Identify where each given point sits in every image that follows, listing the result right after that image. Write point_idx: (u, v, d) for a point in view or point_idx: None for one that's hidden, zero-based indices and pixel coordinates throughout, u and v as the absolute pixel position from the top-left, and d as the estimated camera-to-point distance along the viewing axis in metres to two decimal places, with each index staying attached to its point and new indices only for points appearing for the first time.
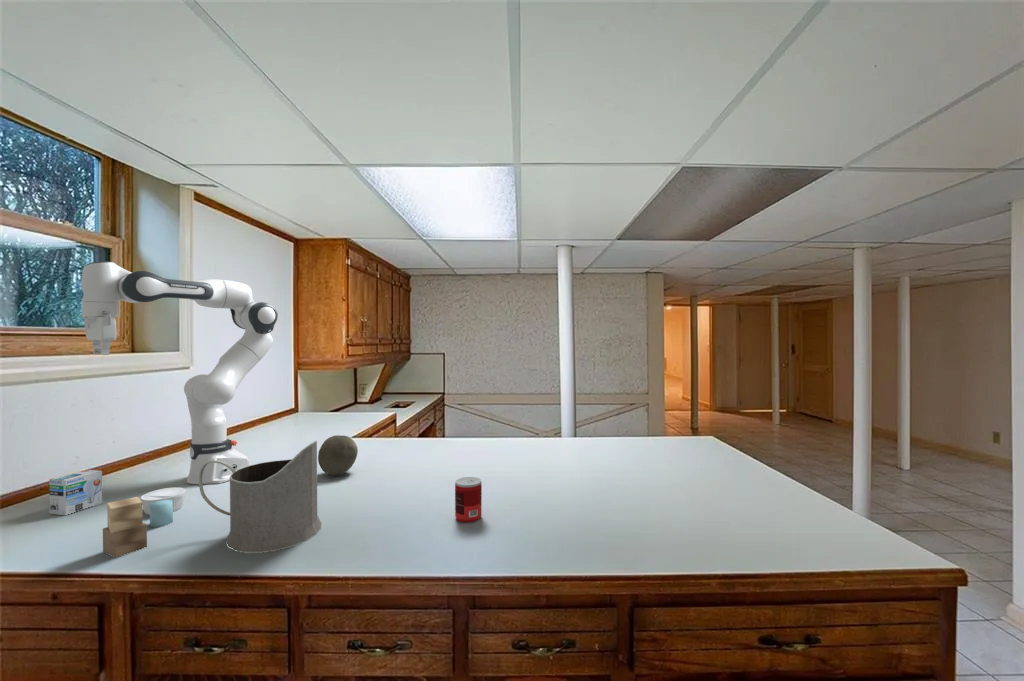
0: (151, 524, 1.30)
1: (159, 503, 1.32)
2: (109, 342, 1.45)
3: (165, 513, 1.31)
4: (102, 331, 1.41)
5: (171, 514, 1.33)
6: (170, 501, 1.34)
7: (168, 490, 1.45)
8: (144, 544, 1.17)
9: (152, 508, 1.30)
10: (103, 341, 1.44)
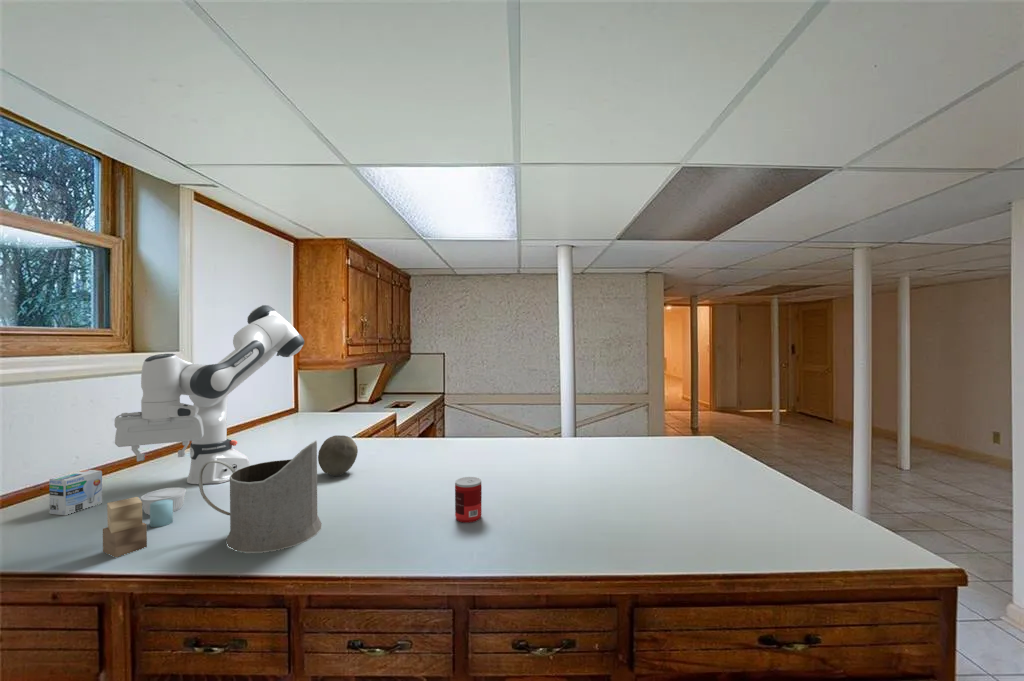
0: (151, 524, 1.30)
1: (160, 503, 1.32)
2: None
3: (165, 513, 1.31)
4: None
5: (171, 514, 1.33)
6: (170, 501, 1.34)
7: (168, 490, 1.45)
8: (144, 544, 1.17)
9: (153, 508, 1.30)
10: None
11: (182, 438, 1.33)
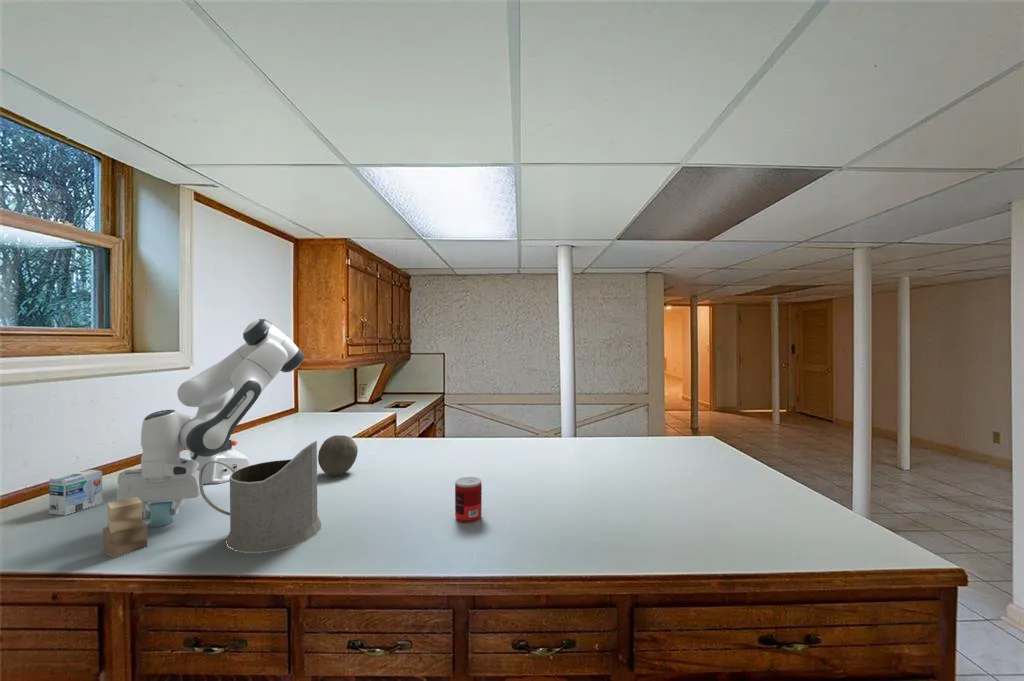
0: (151, 524, 1.30)
1: (159, 503, 1.32)
2: None
3: (165, 513, 1.31)
4: None
5: None
6: (170, 501, 1.34)
7: None
8: (144, 544, 1.17)
9: (153, 508, 1.30)
10: None
11: (179, 496, 1.32)
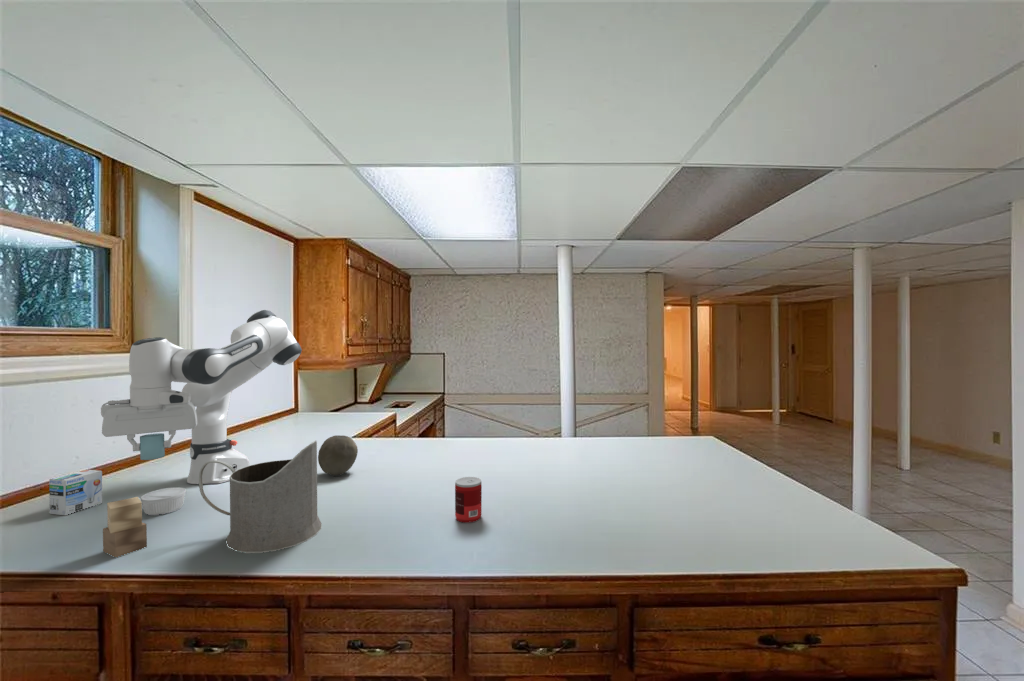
0: (144, 457, 1.22)
1: (150, 435, 1.24)
2: (127, 437, 1.21)
3: (159, 445, 1.24)
4: None
5: None
6: (161, 433, 1.26)
7: (168, 490, 1.45)
8: (144, 544, 1.17)
9: (145, 440, 1.22)
10: None
11: (175, 427, 1.25)
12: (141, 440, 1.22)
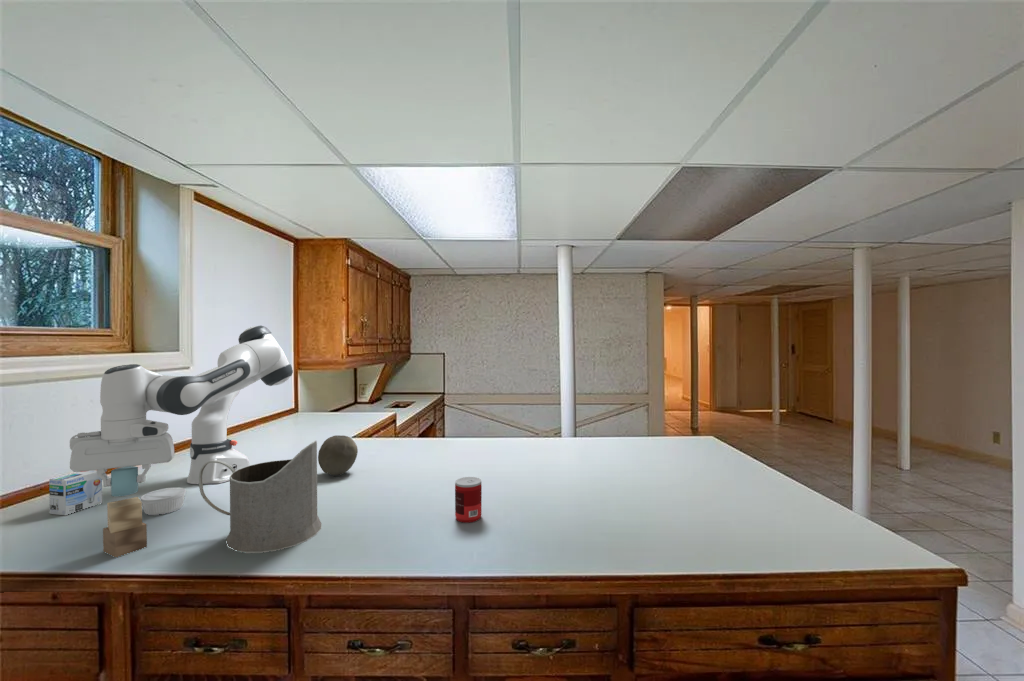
0: (114, 493, 1.14)
1: (123, 469, 1.16)
2: None
3: (131, 480, 1.15)
4: None
5: None
6: (135, 467, 1.18)
7: (168, 490, 1.45)
8: (144, 544, 1.17)
9: (116, 475, 1.14)
10: None
11: (148, 460, 1.17)
12: (112, 475, 1.14)
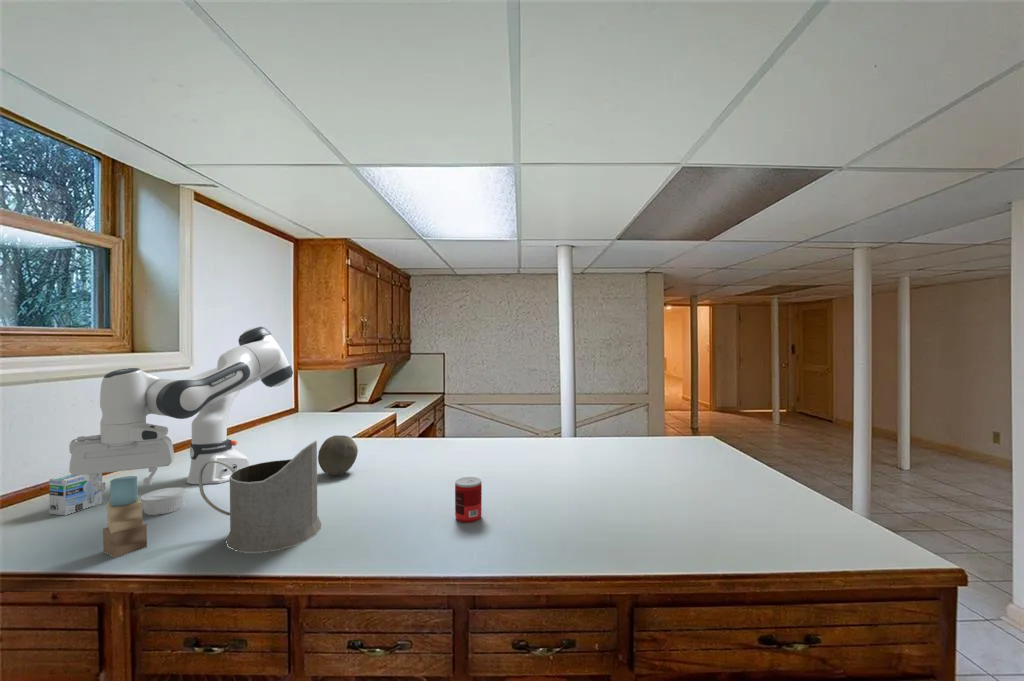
0: (113, 503, 1.14)
1: (122, 479, 1.16)
2: None
3: (131, 490, 1.15)
4: None
5: (136, 491, 1.17)
6: (134, 477, 1.18)
7: (168, 490, 1.45)
8: (144, 544, 1.17)
9: (115, 485, 1.14)
10: None
11: (148, 464, 1.17)
12: (111, 485, 1.14)
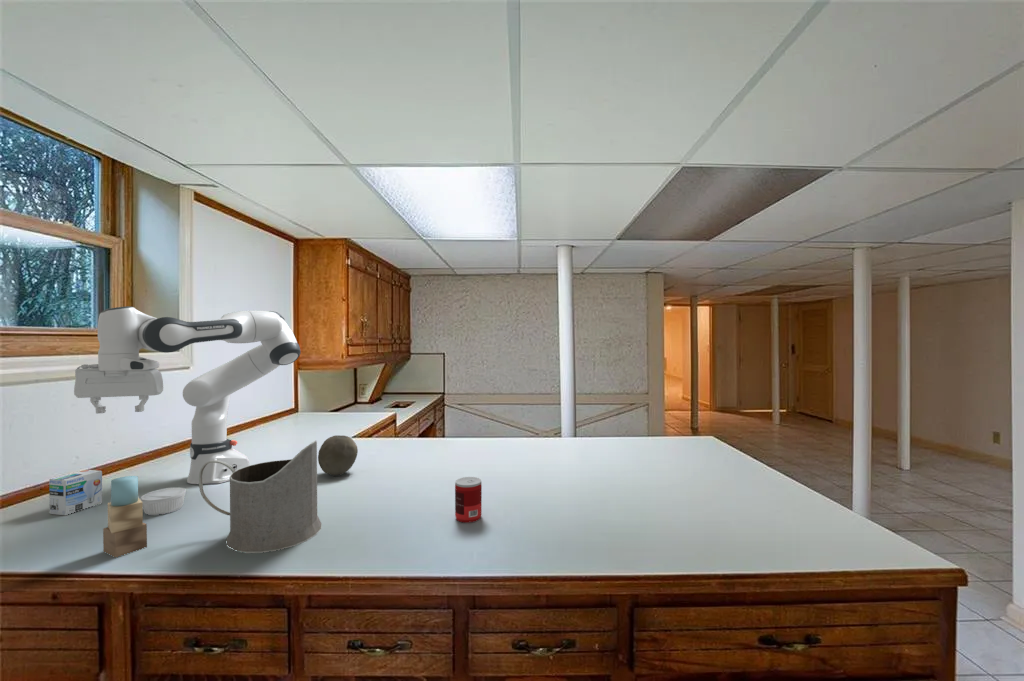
0: (114, 503, 1.14)
1: (123, 479, 1.16)
2: None
3: (131, 490, 1.15)
4: None
5: (137, 491, 1.17)
6: (135, 477, 1.18)
7: (168, 490, 1.45)
8: (144, 544, 1.17)
9: (116, 484, 1.14)
10: None
11: (137, 392, 1.30)
12: (112, 485, 1.14)
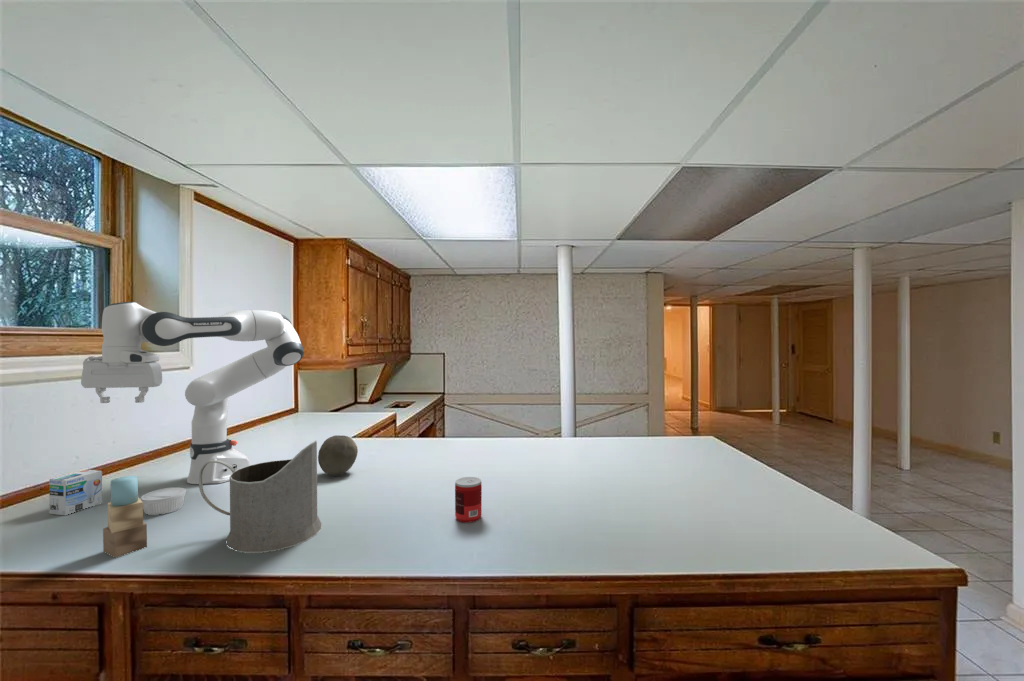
0: (114, 503, 1.14)
1: (122, 479, 1.16)
2: None
3: (131, 490, 1.15)
4: None
5: (137, 491, 1.17)
6: (135, 477, 1.18)
7: (168, 490, 1.45)
8: (144, 544, 1.17)
9: (116, 485, 1.14)
10: None
11: (137, 384, 1.36)
12: (111, 485, 1.14)
